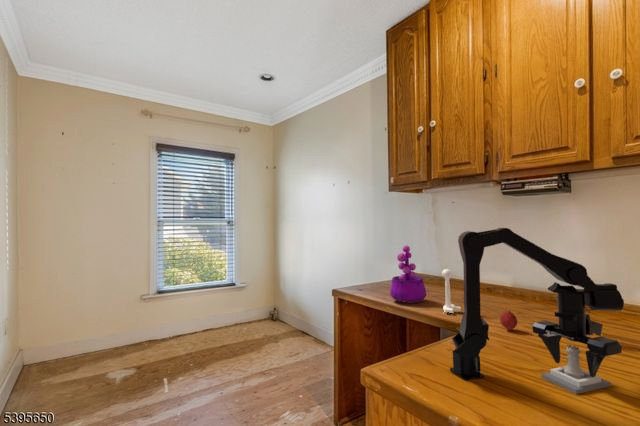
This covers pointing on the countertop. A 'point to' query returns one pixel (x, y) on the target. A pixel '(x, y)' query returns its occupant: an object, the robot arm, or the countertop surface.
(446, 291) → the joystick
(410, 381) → the countertop surface
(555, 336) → the robot arm
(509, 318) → the onion
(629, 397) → the countertop surface
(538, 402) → the countertop surface
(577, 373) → the rook chess piece
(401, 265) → the decorative plant
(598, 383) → the collar plate
